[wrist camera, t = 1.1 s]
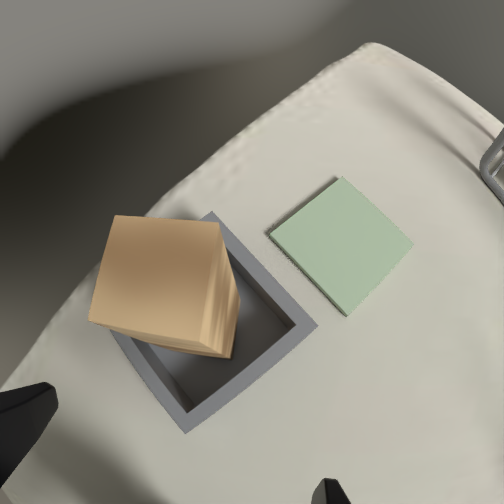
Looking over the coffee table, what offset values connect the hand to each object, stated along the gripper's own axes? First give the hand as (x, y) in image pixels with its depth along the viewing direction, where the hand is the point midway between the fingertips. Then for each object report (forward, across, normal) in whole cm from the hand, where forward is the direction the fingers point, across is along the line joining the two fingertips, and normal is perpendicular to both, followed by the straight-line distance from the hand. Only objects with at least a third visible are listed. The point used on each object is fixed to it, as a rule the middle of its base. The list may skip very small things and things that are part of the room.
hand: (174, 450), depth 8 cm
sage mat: (+20, -6, -4) cm, 22 cm away
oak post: (+15, +3, +4) cm, 15 cm away
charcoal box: (+15, +3, +4) cm, 16 cm away
